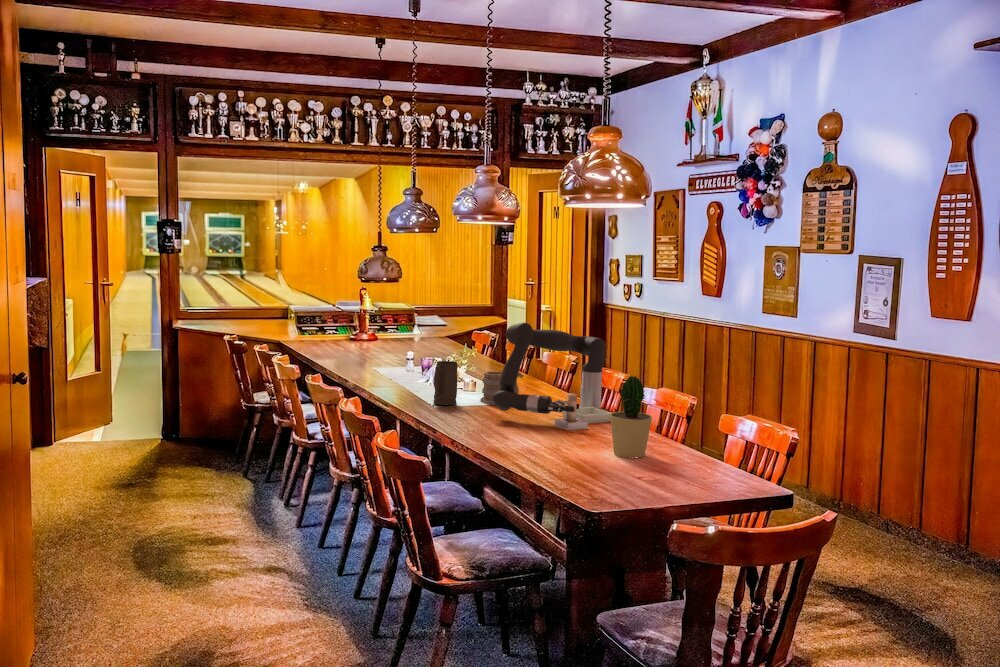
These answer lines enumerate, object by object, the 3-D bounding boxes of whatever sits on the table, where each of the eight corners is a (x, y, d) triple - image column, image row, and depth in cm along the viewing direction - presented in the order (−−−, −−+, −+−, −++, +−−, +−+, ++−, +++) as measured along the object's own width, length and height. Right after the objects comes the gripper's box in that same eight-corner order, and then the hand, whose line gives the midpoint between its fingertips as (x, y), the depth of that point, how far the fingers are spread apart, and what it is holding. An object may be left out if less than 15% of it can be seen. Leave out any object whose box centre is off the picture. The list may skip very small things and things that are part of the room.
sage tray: (562, 416, 413) (562, 409, 412) (592, 414, 420) (592, 406, 420) (583, 423, 399) (583, 415, 398) (613, 421, 407) (613, 413, 406)
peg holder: (554, 425, 393) (554, 418, 392) (574, 424, 398) (574, 417, 397) (567, 430, 384) (567, 423, 384) (587, 428, 389) (587, 421, 389)
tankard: (478, 403, 440) (478, 371, 438) (486, 398, 452) (487, 368, 450) (518, 406, 434) (519, 374, 433) (525, 402, 446) (526, 371, 445)
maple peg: (564, 426, 392) (565, 393, 390) (572, 426, 394) (573, 393, 392) (569, 428, 388) (570, 395, 387) (577, 427, 390) (578, 394, 389)
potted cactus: (601, 451, 350) (604, 372, 346) (637, 448, 355) (641, 371, 352) (620, 460, 335) (624, 378, 332) (657, 458, 341) (662, 377, 337)
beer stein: (439, 401, 441) (440, 359, 439) (460, 403, 438) (461, 361, 436) (426, 406, 427) (427, 363, 425) (447, 408, 423) (449, 365, 421)
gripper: (534, 398, 388) (572, 401, 382) (544, 392, 401) (581, 396, 395) (533, 415, 389) (571, 419, 383) (543, 410, 402) (581, 413, 396)
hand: (576, 407), depth 389 cm, fingers open, 7 cm apart
